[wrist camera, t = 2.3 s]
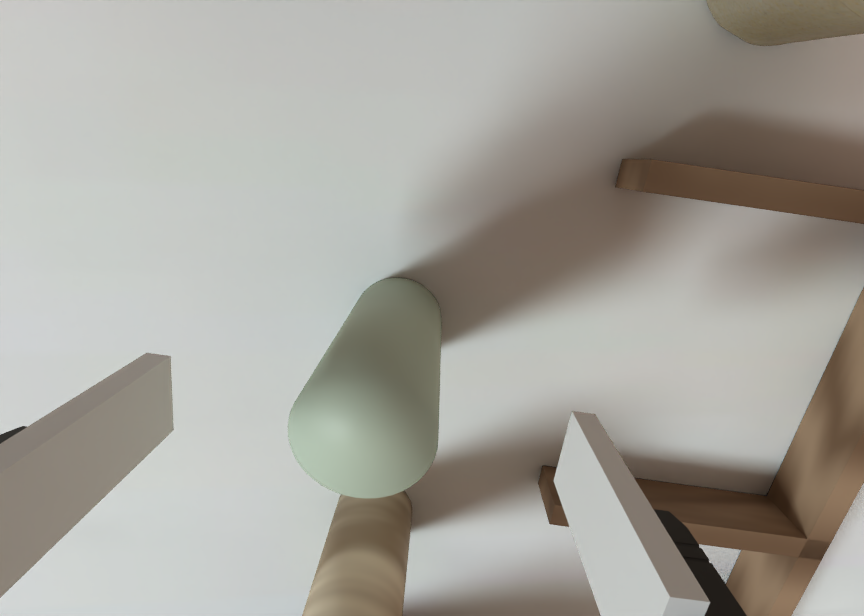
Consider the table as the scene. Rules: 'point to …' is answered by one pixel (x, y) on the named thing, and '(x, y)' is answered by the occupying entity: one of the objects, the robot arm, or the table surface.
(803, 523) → the rack
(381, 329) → the sage post
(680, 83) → the table surface
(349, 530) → the beech post
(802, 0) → the flower pot
